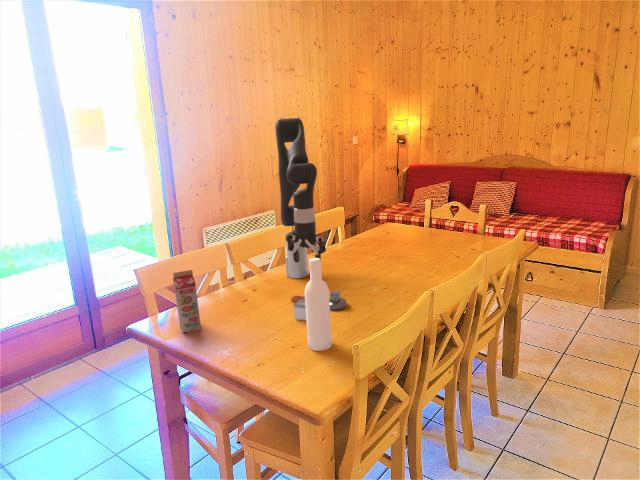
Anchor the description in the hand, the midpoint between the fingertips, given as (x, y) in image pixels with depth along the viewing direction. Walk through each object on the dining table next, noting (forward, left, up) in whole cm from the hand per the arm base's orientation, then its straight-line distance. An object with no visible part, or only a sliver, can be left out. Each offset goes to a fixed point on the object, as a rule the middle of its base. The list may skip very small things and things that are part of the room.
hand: (307, 263), depth 178 cm
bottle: (+13, -20, -21) cm, 32 cm away
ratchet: (-2, +11, -21) cm, 24 cm away
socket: (-2, -2, -21) cm, 21 cm away
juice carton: (-38, -24, -21) cm, 49 cm away
